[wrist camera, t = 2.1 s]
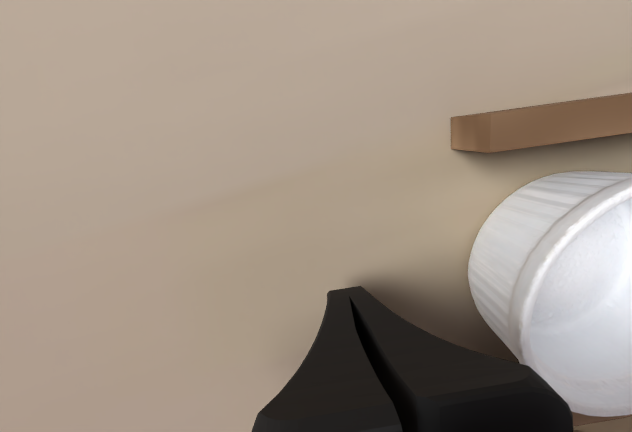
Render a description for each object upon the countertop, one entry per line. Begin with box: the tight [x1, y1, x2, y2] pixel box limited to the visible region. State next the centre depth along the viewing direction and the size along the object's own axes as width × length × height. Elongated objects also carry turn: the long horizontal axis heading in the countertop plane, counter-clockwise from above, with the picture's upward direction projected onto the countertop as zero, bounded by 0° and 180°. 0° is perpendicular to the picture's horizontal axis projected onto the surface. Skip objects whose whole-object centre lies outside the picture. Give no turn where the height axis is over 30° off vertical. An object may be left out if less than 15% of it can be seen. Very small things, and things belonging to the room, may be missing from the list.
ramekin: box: [468, 171, 632, 417], centre depth 12 cm, size 9×9×4 cm
